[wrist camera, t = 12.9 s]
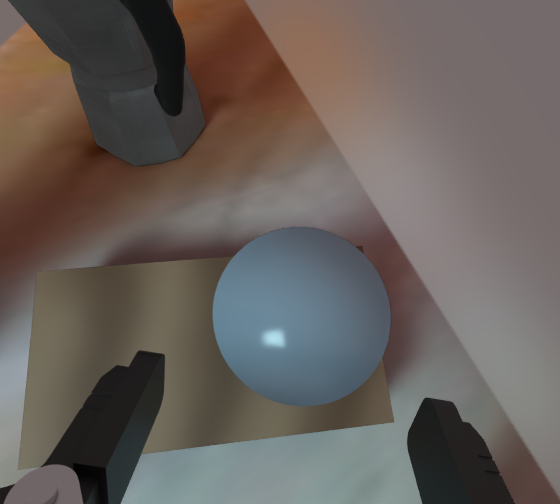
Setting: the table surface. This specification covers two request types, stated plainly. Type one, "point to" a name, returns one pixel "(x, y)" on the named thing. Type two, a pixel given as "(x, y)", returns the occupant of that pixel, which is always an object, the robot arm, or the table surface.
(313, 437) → the table surface
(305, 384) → the blue dome-topped cylinder
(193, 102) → the coffeepot
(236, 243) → the table surface
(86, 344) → the shelf
